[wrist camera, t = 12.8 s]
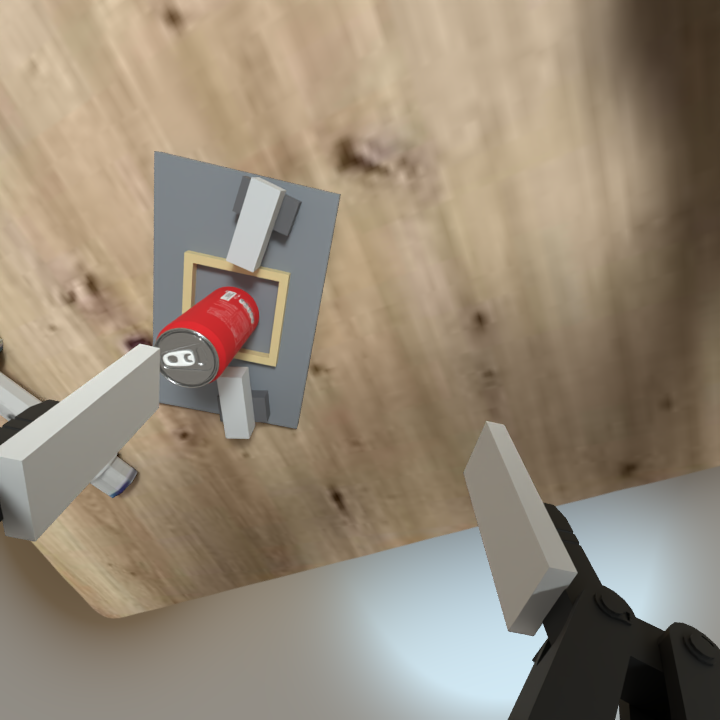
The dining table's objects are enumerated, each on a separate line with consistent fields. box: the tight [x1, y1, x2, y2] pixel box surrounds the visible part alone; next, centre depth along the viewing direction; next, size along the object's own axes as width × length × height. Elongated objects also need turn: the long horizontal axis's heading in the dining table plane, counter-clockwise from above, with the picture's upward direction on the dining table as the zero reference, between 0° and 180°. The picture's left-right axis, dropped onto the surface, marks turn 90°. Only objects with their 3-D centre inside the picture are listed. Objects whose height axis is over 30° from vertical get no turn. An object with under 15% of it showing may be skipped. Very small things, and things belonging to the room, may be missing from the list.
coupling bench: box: [153, 151, 341, 439], centre depth 38 cm, size 25×16×5 cm, turn 168°
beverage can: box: [154, 286, 259, 388], centre depth 34 cm, size 5×5×12 cm
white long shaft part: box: [0, 338, 137, 498], centre depth 44 cm, size 5×7×25 cm
